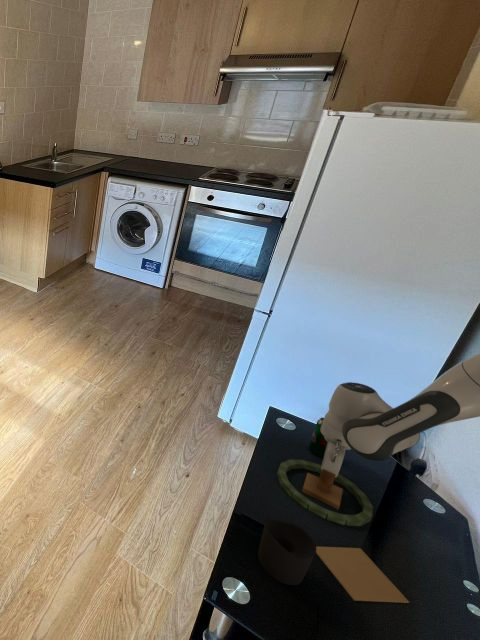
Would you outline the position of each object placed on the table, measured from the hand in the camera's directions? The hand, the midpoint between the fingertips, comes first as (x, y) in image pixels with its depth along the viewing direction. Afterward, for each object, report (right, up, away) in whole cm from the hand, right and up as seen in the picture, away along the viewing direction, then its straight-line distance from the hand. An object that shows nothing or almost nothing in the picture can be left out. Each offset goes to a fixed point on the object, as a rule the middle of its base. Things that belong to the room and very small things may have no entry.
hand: (327, 470), depth 122 cm
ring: (-7, -3, -6) cm, 10 cm away
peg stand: (-7, -3, -6) cm, 10 cm away
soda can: (+5, +1, +9) cm, 10 cm away
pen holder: (-35, -9, -26) cm, 45 cm away
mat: (-17, -10, -27) cm, 34 cm away
